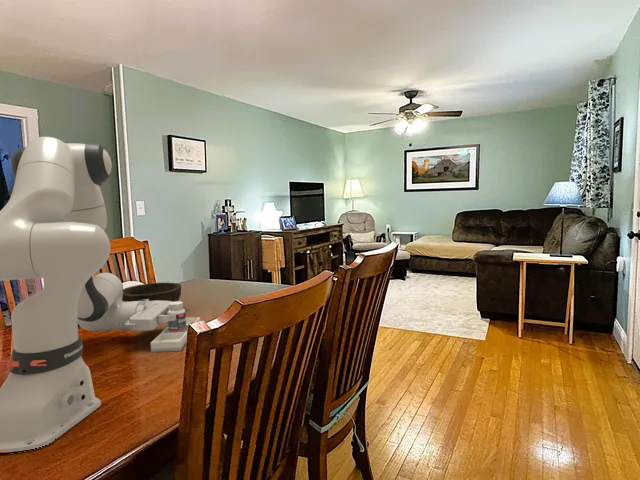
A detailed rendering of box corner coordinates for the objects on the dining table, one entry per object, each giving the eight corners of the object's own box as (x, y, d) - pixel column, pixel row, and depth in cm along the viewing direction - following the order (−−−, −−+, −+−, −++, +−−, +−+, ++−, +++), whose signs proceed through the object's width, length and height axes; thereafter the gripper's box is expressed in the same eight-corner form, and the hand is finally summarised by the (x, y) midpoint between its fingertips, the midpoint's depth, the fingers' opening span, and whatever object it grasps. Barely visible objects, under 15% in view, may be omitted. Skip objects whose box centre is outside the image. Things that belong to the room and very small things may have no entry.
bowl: (184, 318, 148) (182, 291, 147) (118, 326, 140) (116, 298, 139) (181, 304, 168) (180, 280, 167) (123, 310, 160) (121, 286, 159)
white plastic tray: (180, 350, 116) (179, 341, 115) (151, 352, 115) (150, 342, 115) (200, 325, 139) (200, 317, 139) (176, 326, 139) (176, 318, 138)
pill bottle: (180, 333, 124) (178, 305, 123) (165, 332, 125) (163, 304, 124) (189, 328, 129) (187, 300, 128) (174, 327, 130) (172, 300, 129)
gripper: (118, 315, 115) (167, 313, 116) (146, 297, 136) (187, 296, 136) (120, 336, 116) (169, 335, 116) (147, 316, 136) (189, 314, 137)
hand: (179, 314), depth 126 cm, fingers closed on pill bottle, 5 cm apart
